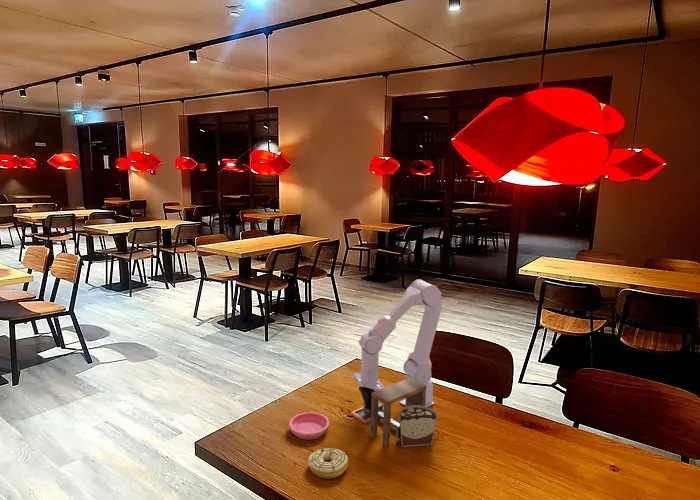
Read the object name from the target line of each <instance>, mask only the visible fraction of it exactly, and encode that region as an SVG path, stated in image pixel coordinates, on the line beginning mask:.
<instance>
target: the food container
mask: <svg viewBox="0 0 700 500" xmlns="http://www.w3.org/2000/svg"><path fill="white" fill-rule="evenodd" d="M399 410H400V411H399V412H398V415H397V418H396V419H397V420H396V422H398V423H400V434H401V437H400V445H401V447H402V448H405V447H406V448H407V447H419V446H431V445H432V446H433V443H434V442H433V441H434V435H435V429H436V424H437V421H439V415H438V413H437V412H436V411H435V410H434V409H433V408H430V407H429V406H428V407H425V406H421V405H410V406H404V407H402V408H401V409H399Z"/></svg>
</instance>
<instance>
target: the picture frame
mask: <svg viewBox="0 0 700 500" xmlns="http://www.w3.org/2000/svg"><path fill="white" fill-rule="evenodd" d="M364 407H365V405H364V406H362V407H359V408H357V409H355V410H352V411H350V415H351V416H352V417H355V419H357V420H358V421H361V422H362V423H363V424H365V425H366V424H369V423H371V416H370V417H369V416H367V415H366V414H364ZM382 413H383V414H384V407H383V411H382ZM378 419H380V418H379V417H378Z"/></svg>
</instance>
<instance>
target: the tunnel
mask: <svg viewBox="0 0 700 500" xmlns="http://www.w3.org/2000/svg"><path fill="white" fill-rule="evenodd" d="M426 386H427V385H424V384H422V383H420V382H418V381H416V380H414V379H412V378H408V379H406V378H405V379H403V380H400V381H398V382H395V383H393V384H390V385H388V386H387V385H386V386H385V387H384V386H383V387H384V388H382V389H379V390H377V391H374V392H372V397H371V422H370V428H369V429H370V434H369V435H370V436H371V437H372V438H376V437H378V424H379V423H378V422H379V421H378V420H379V418H378V402H380V403H381V404H383V408H384V418H383V420H382V422H383V424H382V425H383V426H382V445H383V446H385V447H387V446H389V445H391V444H390V443H391V442H390V439H391V425H390V423H391V419H392V418H391V417H392V404H394V403H397V402H399V401H403V400H405V398H406V406H410V405H421V406H425V404H426ZM406 406H405V407H406Z"/></svg>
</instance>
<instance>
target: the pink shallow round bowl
mask: <svg viewBox="0 0 700 500" xmlns="http://www.w3.org/2000/svg"><path fill="white" fill-rule="evenodd" d="M288 427H289V430H290V431H291V433H292V434H293V435H295V436H296V437H297V438H299V439H302V440H308V441H309V440H310V441H311V440H316V439H319V438H320V437H322V436H323V435H324V434H325V433H326V432H327V431H328V430H329V427H330V421H329V419H328V417H327V416H326V415H324V414H322V413H319V412H314V411H309V412H302V413H299V414H296V415H294V416H293V417H292V418H291V419H290V421H289V423H288Z"/></svg>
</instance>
